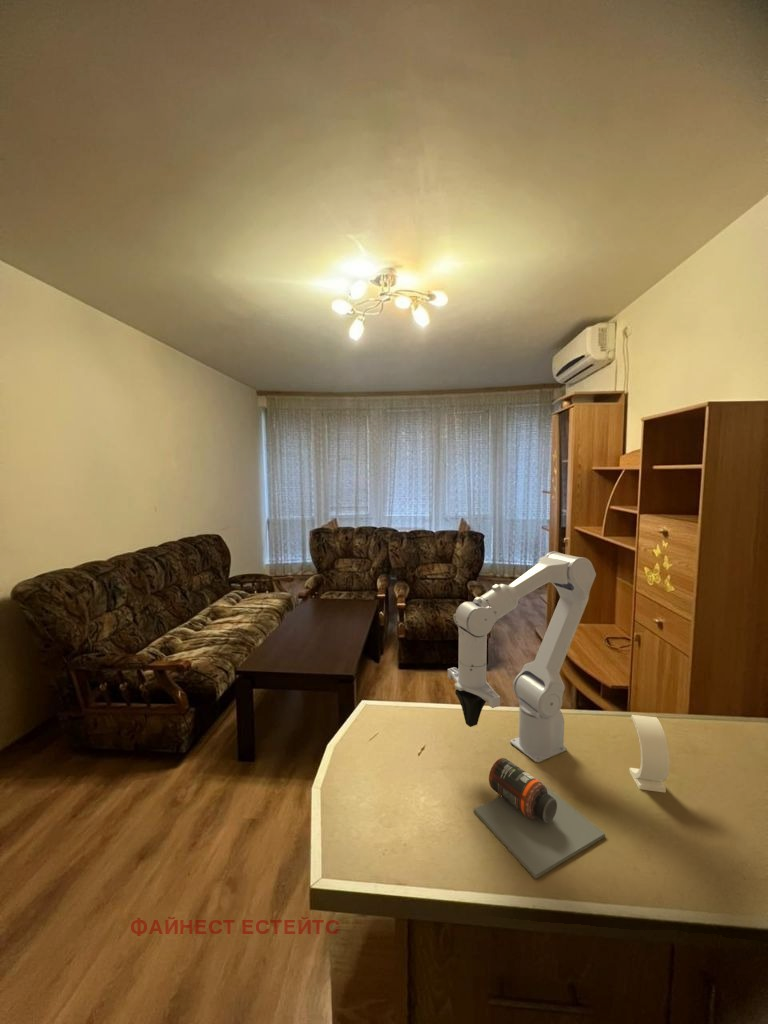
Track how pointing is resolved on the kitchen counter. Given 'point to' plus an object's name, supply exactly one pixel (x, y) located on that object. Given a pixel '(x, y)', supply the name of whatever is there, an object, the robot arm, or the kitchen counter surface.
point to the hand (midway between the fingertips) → (471, 724)
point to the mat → (539, 833)
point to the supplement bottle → (522, 790)
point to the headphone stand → (651, 754)
